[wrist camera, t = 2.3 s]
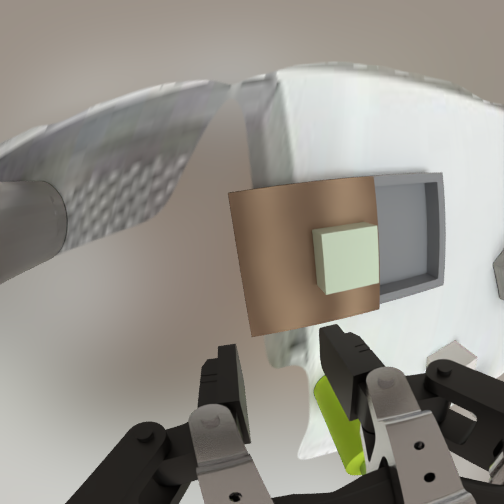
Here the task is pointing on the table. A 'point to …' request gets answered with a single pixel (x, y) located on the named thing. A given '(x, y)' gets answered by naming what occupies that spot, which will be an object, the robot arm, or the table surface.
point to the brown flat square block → (297, 251)
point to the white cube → (455, 355)
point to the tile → (346, 256)
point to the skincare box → (500, 274)
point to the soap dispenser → (341, 428)
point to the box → (410, 233)
